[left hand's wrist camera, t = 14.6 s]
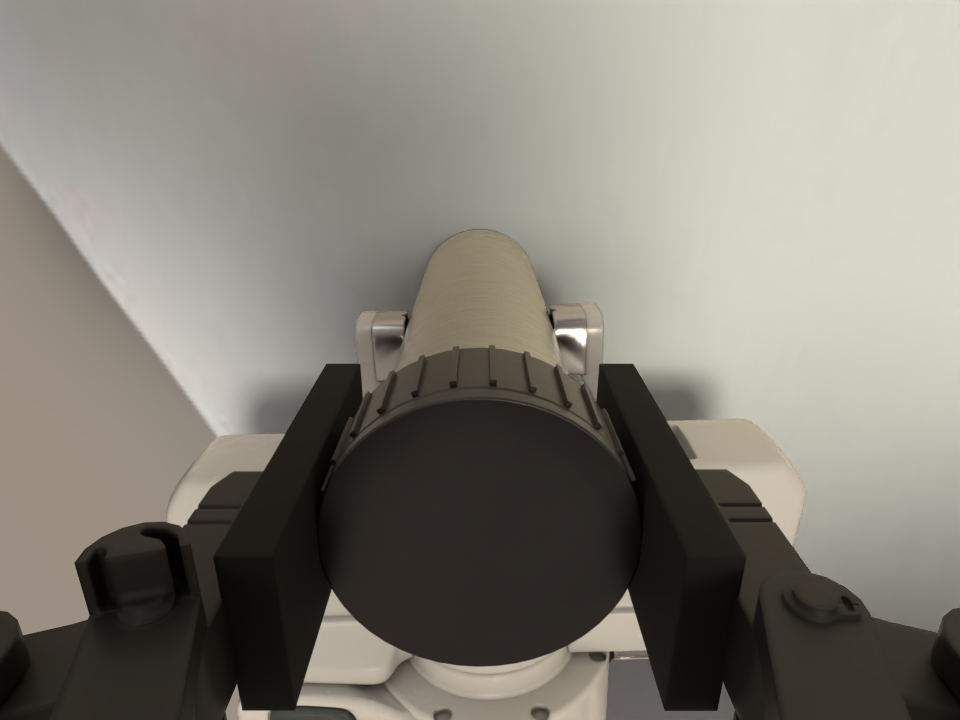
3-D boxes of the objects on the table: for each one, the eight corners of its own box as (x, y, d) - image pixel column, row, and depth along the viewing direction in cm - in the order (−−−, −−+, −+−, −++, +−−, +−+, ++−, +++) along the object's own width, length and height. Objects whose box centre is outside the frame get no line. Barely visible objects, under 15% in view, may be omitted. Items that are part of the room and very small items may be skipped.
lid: (665, 521, 13) (699, 597, 11) (429, 623, 14) (421, 711, 12) (542, 289, 11) (556, 330, 9) (281, 425, 12) (242, 489, 10)
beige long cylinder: (554, 305, 26) (651, 570, 11) (458, 355, 27) (433, 662, 12) (502, 208, 24) (537, 364, 10) (403, 263, 25) (296, 484, 11)
